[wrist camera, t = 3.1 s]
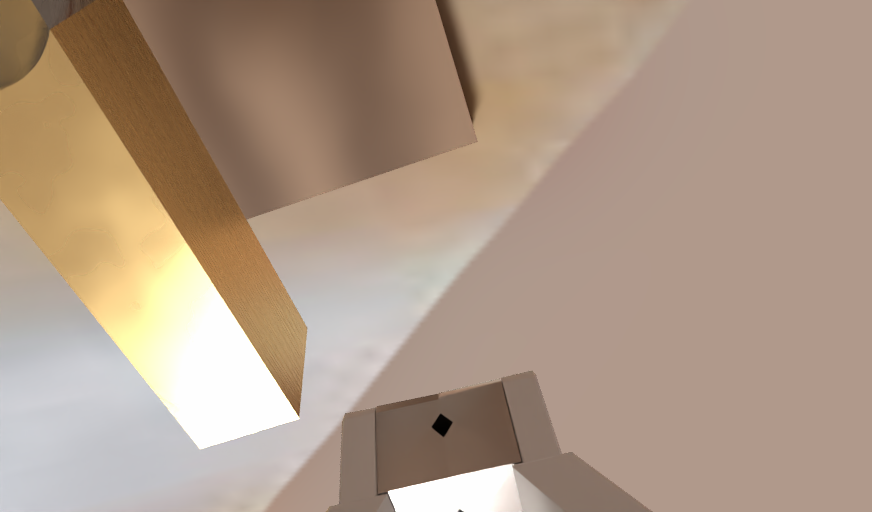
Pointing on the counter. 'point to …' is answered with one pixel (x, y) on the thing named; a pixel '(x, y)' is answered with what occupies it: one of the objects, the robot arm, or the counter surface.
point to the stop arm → (142, 218)
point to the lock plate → (308, 89)
